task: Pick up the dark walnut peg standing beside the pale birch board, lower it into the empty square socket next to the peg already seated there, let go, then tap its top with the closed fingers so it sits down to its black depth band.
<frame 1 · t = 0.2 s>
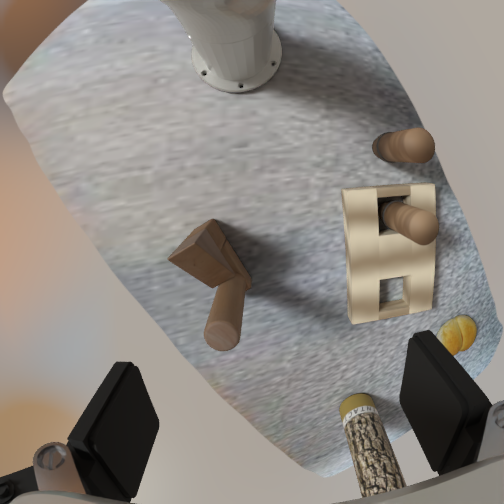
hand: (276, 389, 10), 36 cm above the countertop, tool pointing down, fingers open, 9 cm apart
brown wooden angled piece: (223, 254, 47), on the countertop
paper tube: (355, 403, 54), on the countertop
bread roll: (452, 333, 50), on the countertop
socket board: (388, 250, 46), on the countertop
walnut peg: (382, 147, 41), on the countertop
seated peg: (387, 211, 44), resting in socket board
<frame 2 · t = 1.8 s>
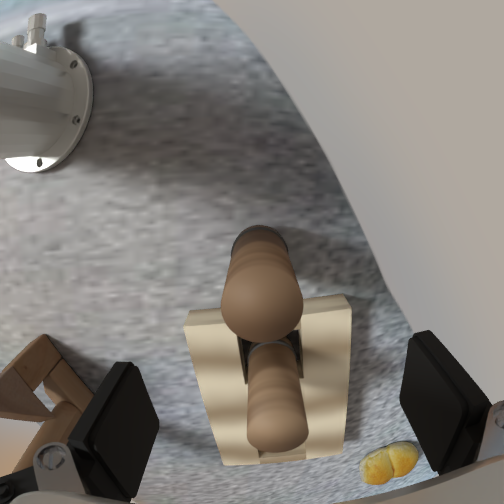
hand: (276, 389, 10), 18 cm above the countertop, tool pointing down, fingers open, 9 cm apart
brown wooden angled piece: (65, 371, 32), on the countertop
bread roll: (385, 456, 36), on the countertop
socket board: (275, 387, 31), on the countertop
walnut peg: (259, 243, 27), on the countertop
seated peg: (270, 340, 29), resting in socket board
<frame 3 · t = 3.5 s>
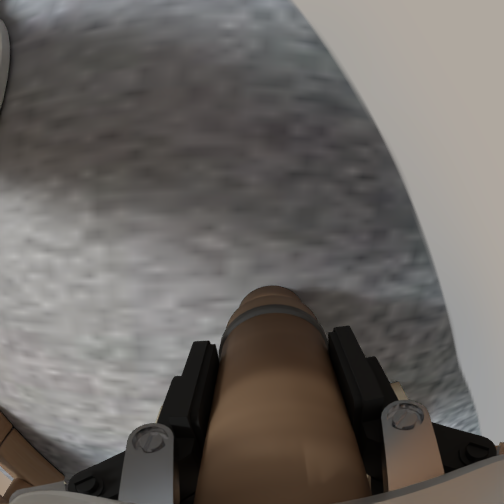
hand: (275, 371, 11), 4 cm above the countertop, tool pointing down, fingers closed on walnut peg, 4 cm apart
brown wooden angled piece: (21, 440, 20), on the countertop
walnut peg: (271, 316, 15), on the countertop, touching gripper
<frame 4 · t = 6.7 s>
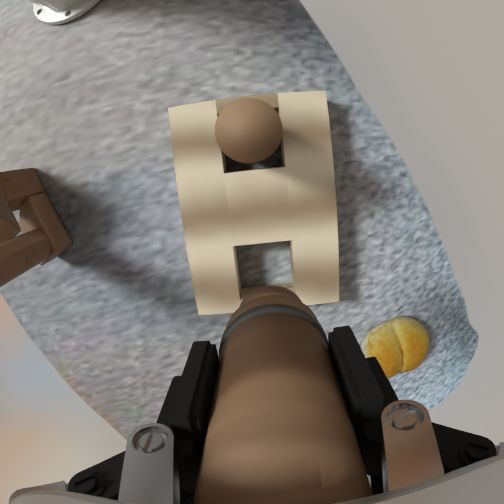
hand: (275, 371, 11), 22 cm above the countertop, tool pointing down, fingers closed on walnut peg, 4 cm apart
brown wooden angled piece: (45, 211, 32), on the countertop
bread roll: (390, 343, 36), on the countertop
socket board: (258, 202, 31), on the countertop
walnut peg: (271, 316, 15), point 18 cm above the countertop, touching gripper
seated peg: (251, 141, 29), resting in socket board
when the fingers open (5 cm above the countertop, at t = 9.7 s): walnut peg stays where it is, resting in socket board.
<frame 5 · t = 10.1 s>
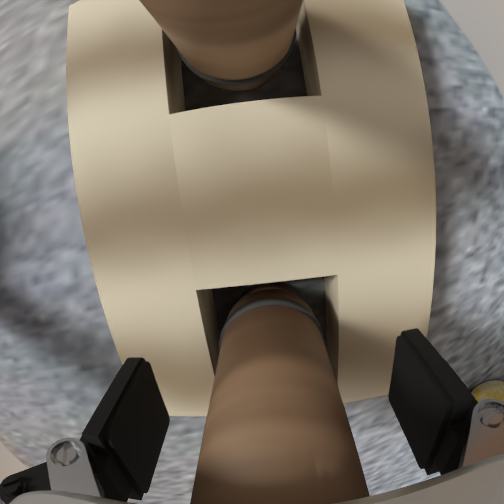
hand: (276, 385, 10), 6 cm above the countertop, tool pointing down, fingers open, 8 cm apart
bread roll: (462, 417, 19), on the countertop
socket board: (256, 187, 14), on the countertop
walnut peg: (269, 310, 15), resting in socket board
seated peg: (240, 59, 12), resting in socket board
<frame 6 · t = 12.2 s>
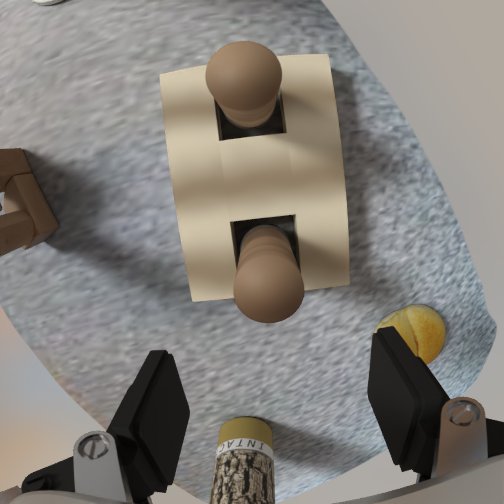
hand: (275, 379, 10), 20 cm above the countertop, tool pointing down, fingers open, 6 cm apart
brown wooden angled piece: (31, 194, 29), on the countertop
paper tube: (246, 430, 36), on the countertop
bread roll: (403, 335, 32), on the countertop
socket board: (258, 175, 28), on the countertop
walnut peg: (265, 240, 29), resting in socket board
seated peg: (249, 110, 26), resting in socket board
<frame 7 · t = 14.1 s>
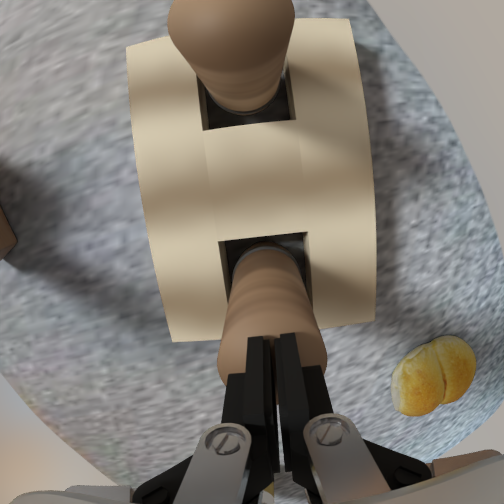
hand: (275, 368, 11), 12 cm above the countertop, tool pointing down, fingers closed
paper tube: (243, 470, 30), on the countertop
bread roll: (427, 369, 26), on the countertop
socket board: (256, 178, 21), on the countertop
walnut peg: (265, 263, 22), resting in socket board, touching gripper
seated peg: (245, 91, 19), resting in socket board
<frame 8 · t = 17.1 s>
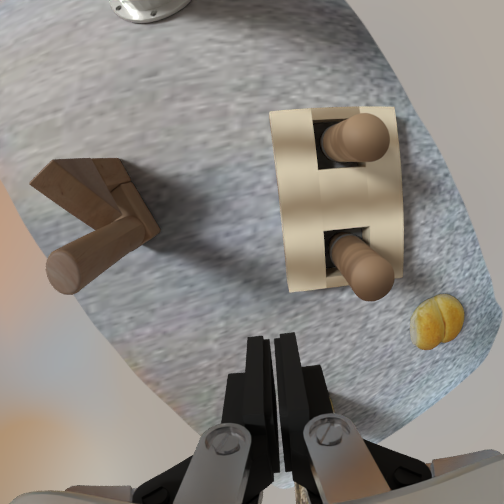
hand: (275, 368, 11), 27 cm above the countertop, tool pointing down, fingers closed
brown wooden angled piece: (129, 201, 37), on the countertop
bread roll: (432, 318, 41), on the countertop
socket board: (338, 195, 36), on the countertop
walnut peg: (341, 244, 37), resting in socket board
seated peg: (333, 144, 34), resting in socket board
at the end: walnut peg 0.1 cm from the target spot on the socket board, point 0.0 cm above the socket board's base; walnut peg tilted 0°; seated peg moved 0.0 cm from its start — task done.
